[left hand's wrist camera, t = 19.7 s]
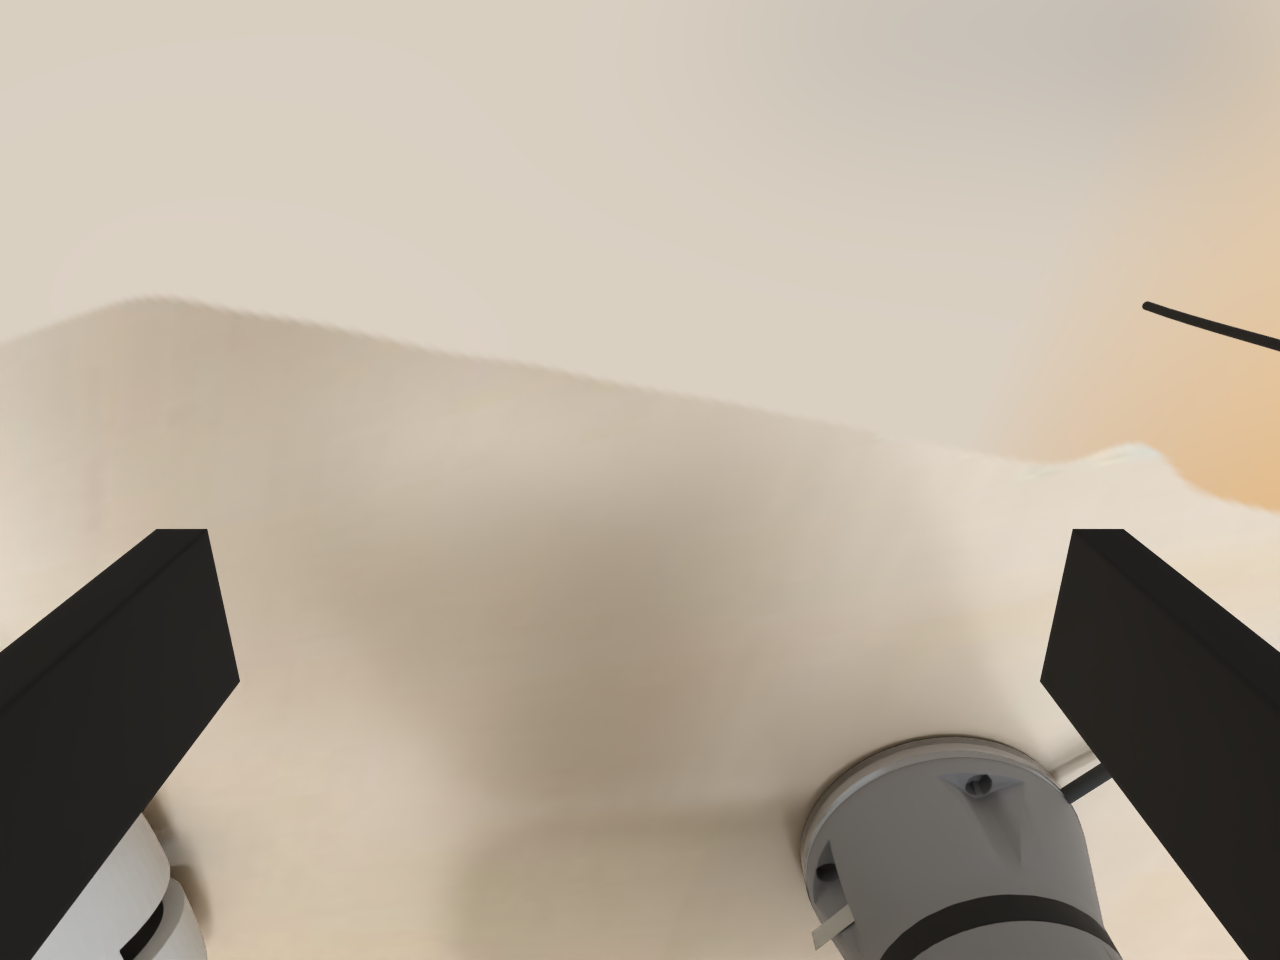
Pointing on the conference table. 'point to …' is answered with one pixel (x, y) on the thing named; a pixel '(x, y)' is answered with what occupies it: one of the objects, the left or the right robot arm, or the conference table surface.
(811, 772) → the conference table surface
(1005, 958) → the left robot arm
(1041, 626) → the conference table surface
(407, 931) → the conference table surface
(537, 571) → the conference table surface
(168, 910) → the projector
